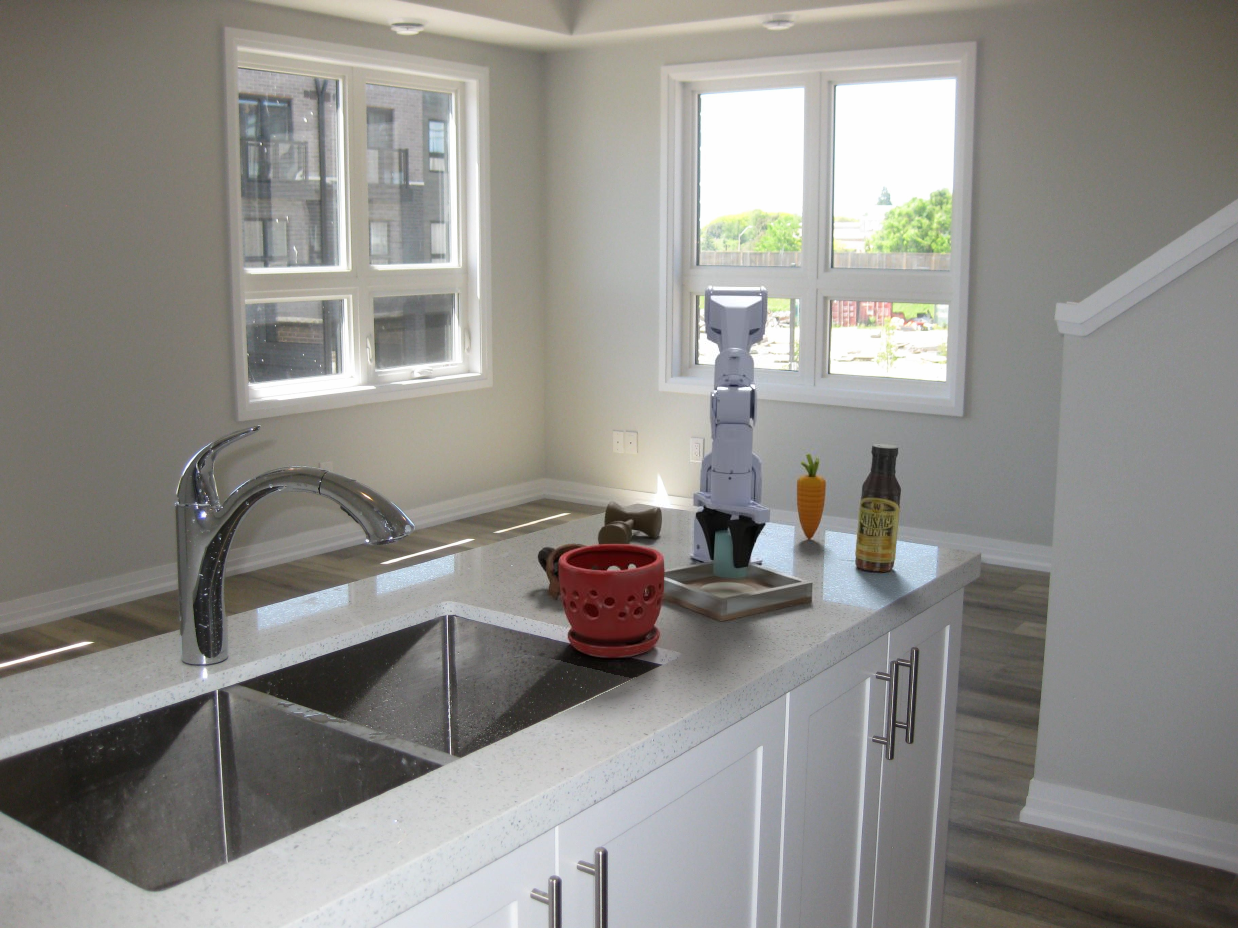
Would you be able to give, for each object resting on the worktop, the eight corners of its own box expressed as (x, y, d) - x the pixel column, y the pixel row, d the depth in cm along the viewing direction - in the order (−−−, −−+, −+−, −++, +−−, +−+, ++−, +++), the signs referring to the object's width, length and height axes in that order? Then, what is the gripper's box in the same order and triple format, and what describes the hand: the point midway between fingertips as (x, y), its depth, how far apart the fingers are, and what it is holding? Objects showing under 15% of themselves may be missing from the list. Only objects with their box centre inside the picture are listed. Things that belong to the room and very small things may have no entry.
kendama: (583, 554, 193) (617, 525, 212) (638, 560, 190) (668, 530, 209) (584, 519, 191) (618, 493, 210) (639, 525, 189) (669, 498, 208)
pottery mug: (620, 591, 171) (616, 552, 165) (580, 632, 165) (576, 592, 160) (557, 559, 177) (552, 520, 171) (517, 597, 171) (510, 558, 166)
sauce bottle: (851, 570, 182) (857, 446, 178) (858, 561, 187) (864, 441, 184) (893, 575, 179) (900, 449, 176) (899, 565, 185) (906, 443, 182)
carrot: (823, 543, 199) (826, 458, 197) (794, 541, 200) (797, 456, 198) (823, 536, 204) (827, 453, 202) (795, 535, 205) (798, 452, 203)
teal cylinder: (706, 572, 167) (708, 531, 166) (731, 568, 170) (734, 529, 169) (727, 579, 163) (729, 538, 162) (753, 576, 166) (755, 535, 165)
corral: (646, 591, 169) (646, 573, 169) (733, 574, 179) (734, 557, 178) (721, 621, 155) (721, 601, 155) (811, 601, 165) (812, 582, 165)
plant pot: (584, 626, 153) (584, 538, 151) (677, 639, 148) (679, 548, 146) (540, 656, 141) (540, 561, 139) (640, 671, 136) (641, 573, 134)
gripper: (677, 465, 167) (676, 556, 170) (744, 481, 156) (741, 578, 158) (715, 461, 171) (712, 549, 174) (782, 476, 160) (779, 570, 162)
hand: (728, 563), depth 166 cm, fingers closed on teal cylinder, 5 cm apart
